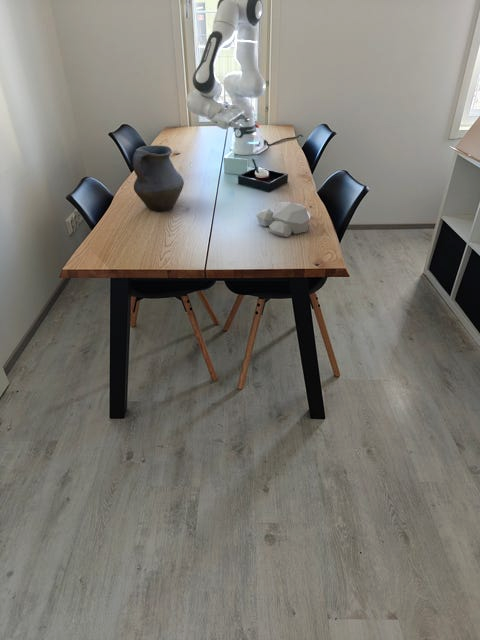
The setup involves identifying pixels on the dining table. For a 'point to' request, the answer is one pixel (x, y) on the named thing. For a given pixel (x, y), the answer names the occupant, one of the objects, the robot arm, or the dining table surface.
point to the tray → (273, 181)
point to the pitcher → (156, 177)
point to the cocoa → (261, 173)
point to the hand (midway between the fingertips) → (244, 123)
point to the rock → (285, 219)
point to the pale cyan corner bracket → (235, 164)
